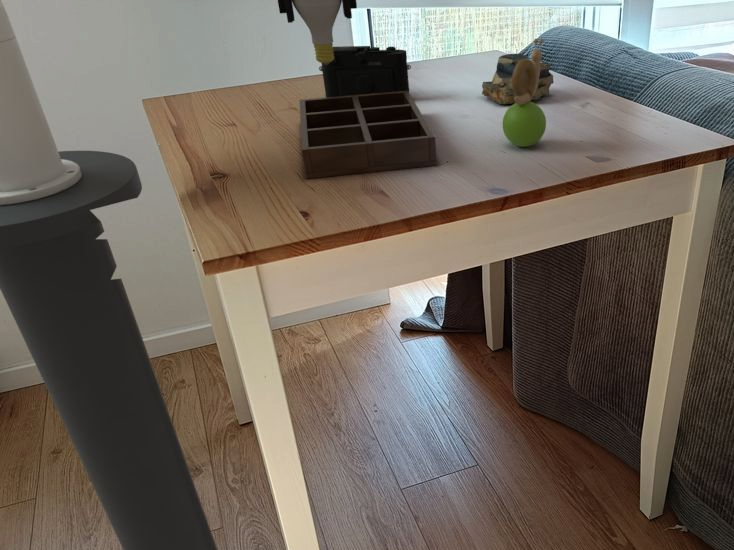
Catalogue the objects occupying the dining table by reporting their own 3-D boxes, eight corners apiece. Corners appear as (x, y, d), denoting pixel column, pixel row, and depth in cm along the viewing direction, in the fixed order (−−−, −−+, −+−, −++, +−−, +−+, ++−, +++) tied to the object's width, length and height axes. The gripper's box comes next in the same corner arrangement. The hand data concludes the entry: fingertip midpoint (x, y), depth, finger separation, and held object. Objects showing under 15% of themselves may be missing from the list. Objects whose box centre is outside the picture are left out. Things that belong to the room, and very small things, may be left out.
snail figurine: (555, 140, 89) (560, 40, 82) (533, 155, 84) (536, 50, 78) (518, 134, 91) (519, 36, 85) (494, 148, 87) (494, 46, 80)
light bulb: (334, 57, 81) (322, -41, 75) (359, 64, 77) (348, -38, 71) (292, 64, 78) (276, -37, 72) (316, 72, 74) (301, -33, 69)
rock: (477, 98, 107) (476, 59, 104) (524, 88, 111) (525, 50, 108) (511, 110, 101) (511, 69, 98) (560, 98, 105) (561, 59, 102)
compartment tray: (306, 178, 80) (301, 149, 78) (303, 124, 98) (299, 99, 97) (436, 165, 82) (435, 137, 81) (409, 114, 101) (407, 90, 99)
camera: (417, 91, 112) (413, 37, 107) (411, 102, 106) (407, 47, 102) (331, 92, 113) (323, 39, 109) (320, 104, 107) (312, 49, 103)
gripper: (377, -192, 69) (393, 8, 79) (199, -188, 66) (240, 18, 77) (385, -199, 63) (402, 18, 73) (190, -195, 60) (236, 30, 70)
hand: (319, 16), depth 75 cm, fingers closed on light bulb, 5 cm apart
